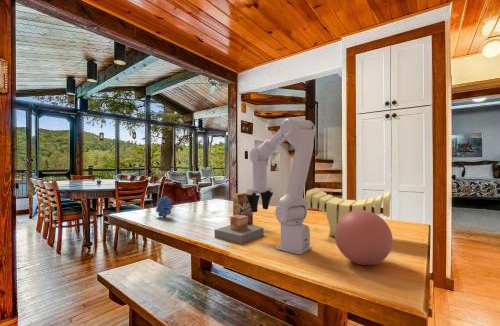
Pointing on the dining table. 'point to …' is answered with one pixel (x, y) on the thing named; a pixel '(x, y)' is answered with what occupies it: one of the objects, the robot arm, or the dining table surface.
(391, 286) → the dining table surface
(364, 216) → the matte pink egg
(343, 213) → the slatted curved stool
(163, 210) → the grapes
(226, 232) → the charcoal plinth
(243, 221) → the terracotta block
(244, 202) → the candy box
